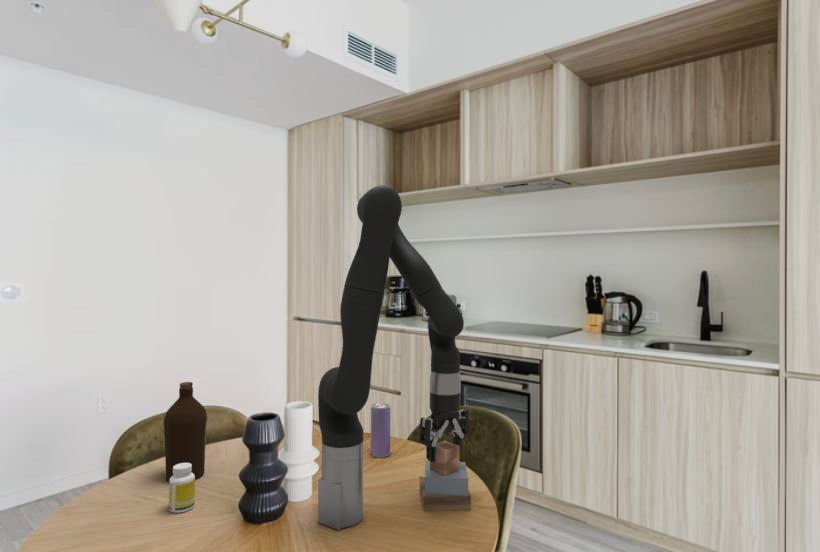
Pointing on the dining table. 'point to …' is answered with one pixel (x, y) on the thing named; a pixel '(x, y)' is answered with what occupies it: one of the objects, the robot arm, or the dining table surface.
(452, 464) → the terracotta block
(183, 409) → the olive oil
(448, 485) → the slate top slab
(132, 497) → the dining table surface
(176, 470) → the supplement bottle
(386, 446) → the beverage can
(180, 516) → the dining table surface
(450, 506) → the walnut base slab
